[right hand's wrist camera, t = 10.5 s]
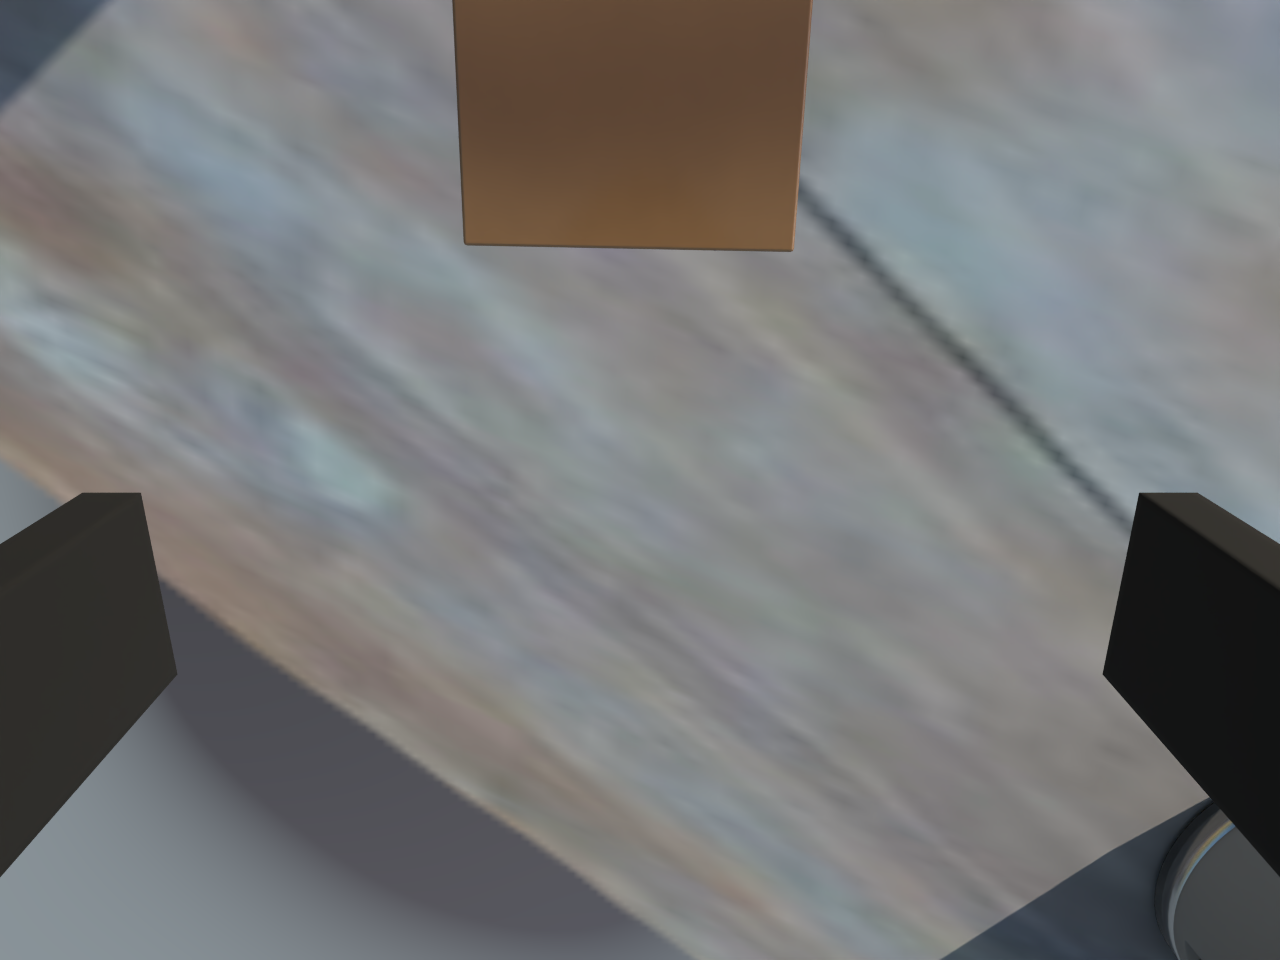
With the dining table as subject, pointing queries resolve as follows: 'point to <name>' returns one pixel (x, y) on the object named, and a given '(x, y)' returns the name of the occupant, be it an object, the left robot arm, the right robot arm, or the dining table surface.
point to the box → (631, 122)
